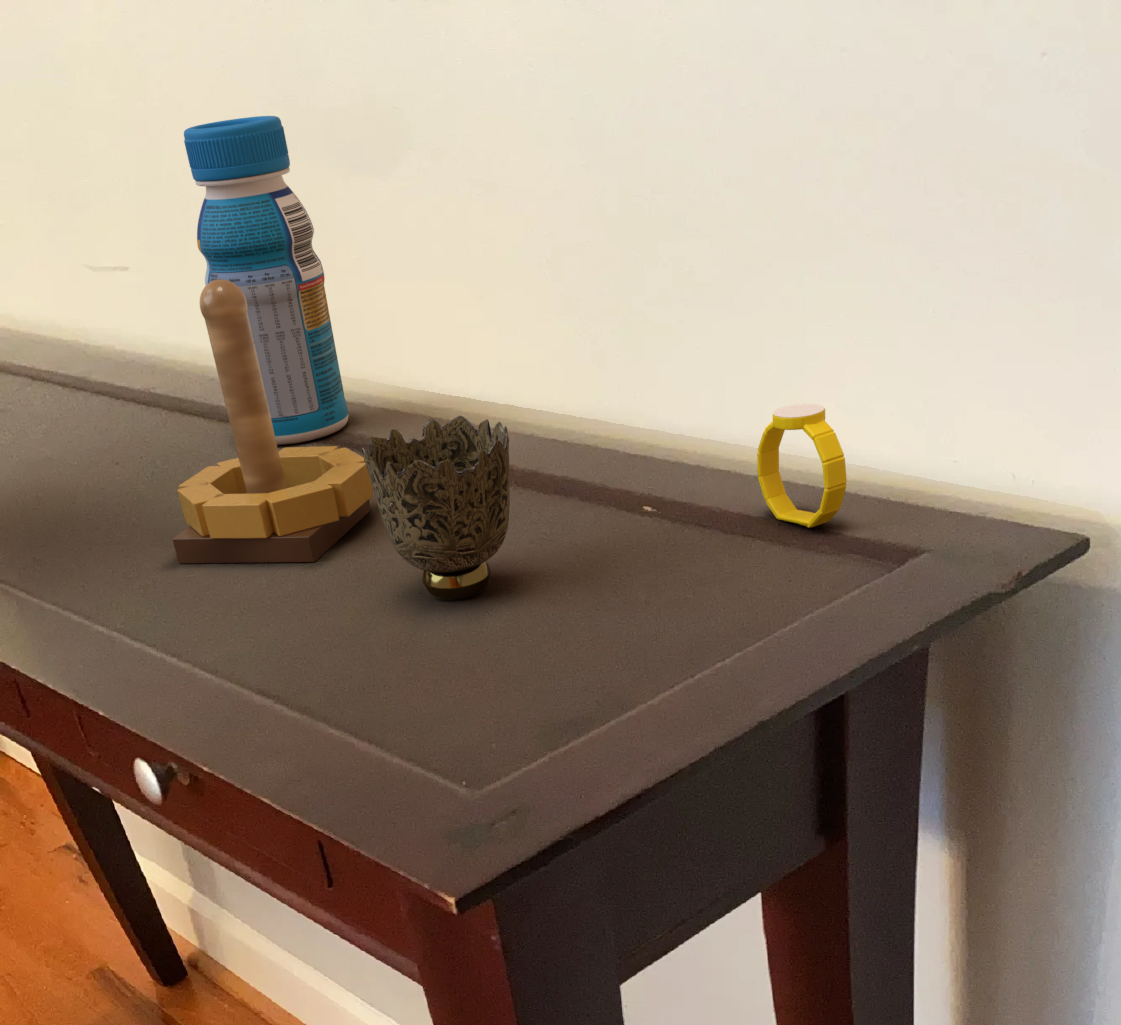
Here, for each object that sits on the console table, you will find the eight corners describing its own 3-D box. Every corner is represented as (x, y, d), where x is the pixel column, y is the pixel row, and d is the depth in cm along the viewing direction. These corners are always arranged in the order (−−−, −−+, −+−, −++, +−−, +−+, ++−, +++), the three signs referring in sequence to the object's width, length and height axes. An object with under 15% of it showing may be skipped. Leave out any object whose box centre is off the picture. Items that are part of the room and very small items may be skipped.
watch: (856, 527, 74) (859, 412, 71) (817, 540, 73) (818, 425, 70) (785, 504, 79) (784, 395, 75) (747, 516, 78) (745, 406, 74)
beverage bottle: (264, 455, 99) (190, 133, 87) (227, 434, 105) (153, 130, 93) (369, 428, 102) (312, 113, 90) (327, 409, 108) (268, 111, 96)
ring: (157, 539, 81) (147, 505, 80) (242, 480, 89) (234, 448, 88) (323, 538, 78) (315, 503, 77) (395, 477, 86) (389, 444, 85)
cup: (415, 630, 69) (386, 469, 65) (373, 587, 75) (343, 436, 70) (548, 594, 71) (530, 436, 67) (497, 555, 77) (477, 406, 72)
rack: (178, 563, 82) (105, 302, 73) (244, 512, 89) (184, 268, 80) (314, 562, 79) (255, 292, 71) (371, 510, 86) (323, 257, 78)
